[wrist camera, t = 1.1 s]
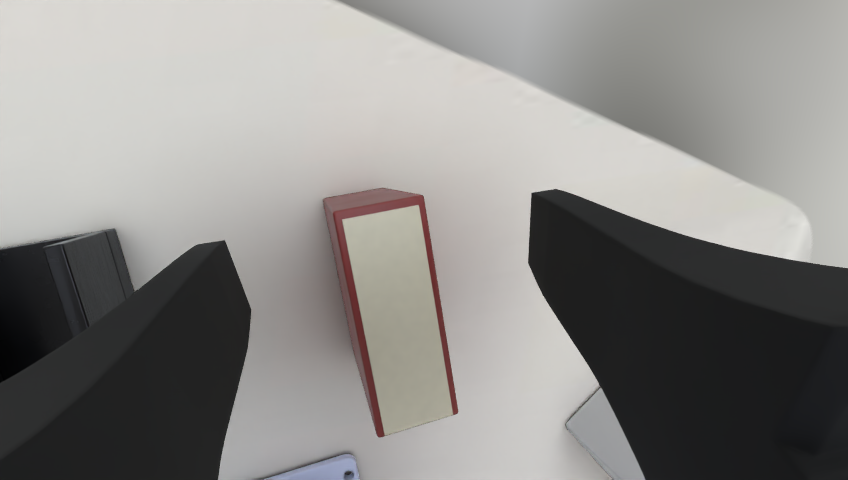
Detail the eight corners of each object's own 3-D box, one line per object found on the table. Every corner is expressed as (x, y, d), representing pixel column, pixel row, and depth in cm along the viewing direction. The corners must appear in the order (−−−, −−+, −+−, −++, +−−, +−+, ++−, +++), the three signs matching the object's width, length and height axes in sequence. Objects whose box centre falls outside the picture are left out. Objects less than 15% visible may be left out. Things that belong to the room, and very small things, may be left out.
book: (411, 340, 23) (460, 415, 16) (354, 354, 23) (378, 440, 15) (384, 187, 22) (424, 194, 14) (322, 198, 21) (332, 211, 14)
